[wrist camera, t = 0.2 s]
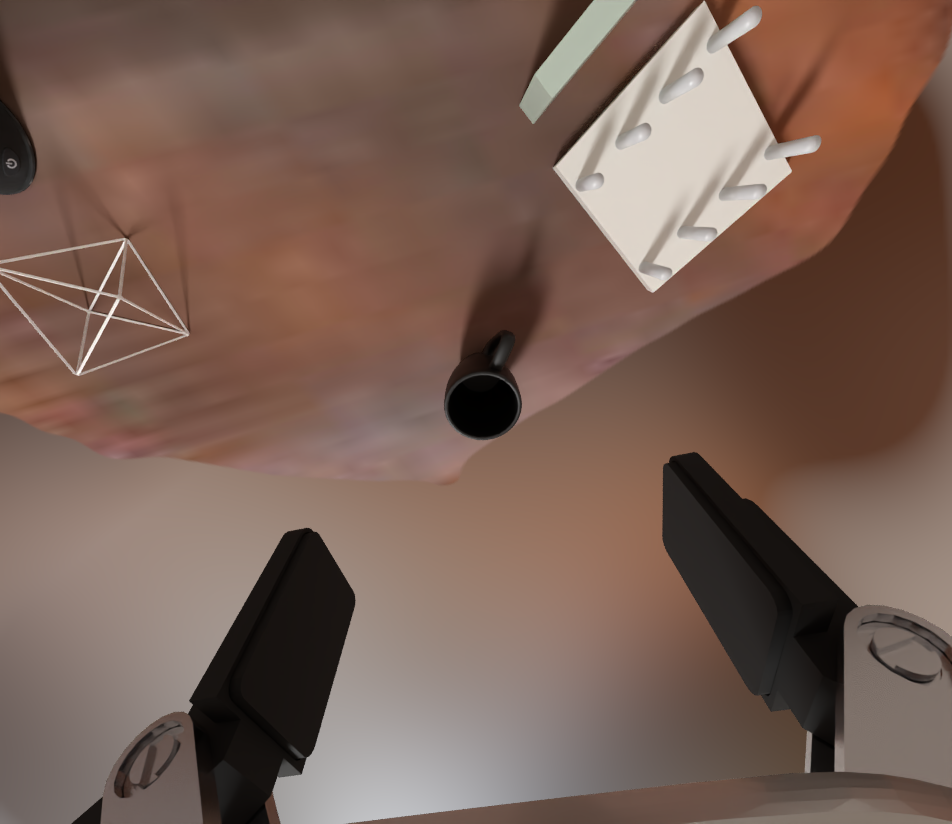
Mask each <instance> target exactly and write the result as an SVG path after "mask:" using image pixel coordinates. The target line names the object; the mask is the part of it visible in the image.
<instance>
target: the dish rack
mask: <svg viewBox="0 0 952 824" xmlns="http://www.w3.org/2000/svg"><path fill="white" fill-rule="evenodd" d="M761 17H762V10H761V8H760V7H759V6H754V7H752V8H750V9H749V10H748V11H746V12H745V13H743V14H742V15H741V16H739V17H738V18H736V19H735V20H734V21H732V22H731V23H730V24H728V25H727V26H725V27H724V28H723V29H721V30H719V28H718V26H717V24H716V22H715V20H714V18H713V16H712V14H711V12H710V10H709V8H708V6H707V4H706V3H705V1H703V2H702V3H701V4H700V5H699V6H698V7H697V8H696V9H694V11H693V12H692V13H691V14H690V15H689V16H688V17H687V18H686V20H685V21H684V22H683V23H682V24H681V25H680V26H679V27H678V28H677V30H676V31H675V32H674V33H673V34H672V35H671V36H670V37H669V39H668V40H667V41H666V42H665V43H664V44H663V45H662V46H661V47H660V49H659V50H658V51H657V52H656V53H655V54H654V55H653V56H652V57H651V59H650V60H649V61H648V62H647V63H646V64H645V65H644V66H643V68H642V69H641V70H640V71H639V72H638V73H637V74H636V75H635V76H634V78H633V79H632V80H631V81H630V82H629V83H628V84H627V85H626V87H625V88H624V89H623V90H622V91H621V92H620V93H619V94H618V95H617V97H616V98H615V99H614V100H613V101H612V102H611V103H610V104H609V106H608V107H607V108H606V109H605V110H604V111H603V112H602V113H601V114H600V116H599V117H598V118H597V119H596V120H595V121H594V122H593V123H592V125H591V126H590V127H589V128H588V129H587V130H586V131H585V132H584V133H583V135H582V136H581V137H580V138H579V139H578V140H577V141H576V142H575V143H574V145H573V146H572V147H571V148H570V149H569V150H568V151H567V152H566V154H565V155H564V156H563V157H562V158H561V159H560V160H559V161H558V162H557V164H556V165H555V166H554V167H553V169H554V171H555V172H556V173H557V174H558V176H559V177H560V178H561V180H562V181H563V182H564V183H565V185H566V186H567V187H568V189H569V190H570V191H571V192H572V194H573V195H574V196H575V198H576V199H577V200H578V201H579V203H580V204H581V205H582V207H583V208H584V209H585V210H586V212H587V213H588V214H589V216H590V217H591V218H592V219H593V221H594V222H595V223H596V225H597V226H598V227H599V228H600V230H601V231H602V232H603V234H604V235H605V236H606V237H607V239H608V240H609V241H610V243H611V244H612V245H613V247H614V248H615V249H616V250H617V252H618V253H619V254H620V256H621V257H622V258H623V259H624V261H625V262H626V263H627V265H628V266H629V267H630V268H631V270H632V271H633V272H634V274H635V275H636V276H637V277H638V279H639V280H640V281H641V283H642V284H643V285H644V286H645V288H646V289H647V290H648V291H650V292H653V293H654V292H655V291H656V290H657V289H658V288H659V287H660V286H662V285H663V284H664V283H665V282H666V281H667V280H668V279H670V278H671V277H672V276H673V275H674V274H675V273H676V272H678V271H679V270H680V269H681V268H682V267H683V266H684V265H686V264H687V263H688V262H689V261H690V260H691V259H692V258H694V257H695V256H696V255H697V254H698V253H699V252H700V251H702V250H703V249H704V248H705V247H706V246H707V245H708V244H710V243H711V242H712V241H713V240H714V239H715V238H716V237H718V236H719V235H720V234H721V233H722V232H723V231H724V230H726V229H727V228H728V227H729V226H730V225H731V224H733V223H734V222H735V221H736V220H737V219H738V218H739V217H741V216H742V215H743V214H744V213H745V212H746V211H747V210H749V209H750V208H751V207H752V206H753V205H754V204H755V203H757V202H758V201H759V200H760V199H761V198H762V197H763V196H765V195H766V194H767V193H768V192H769V191H770V190H771V189H773V188H774V187H775V186H776V185H777V184H778V183H779V182H781V181H782V180H783V179H784V178H785V177H786V176H787V175H789V174H790V173H791V172H792V170H791V168H790V167H789V165H788V163H787V161H786V159H785V157H790V156H795V155H801V154H807V153H812V152H815V151H816V150H817V149H818V148H819V146H820V144H821V138H820V136H818V135H815V136H811V137H806V138H802V139H797V140H793V141H788V142H784V143H779V144H778V143H777V141H776V139H775V137H774V135H773V133H772V131H771V129H770V127H769V126H768V124H767V122H766V120H765V118H764V116H763V114H762V112H761V110H760V108H759V106H758V104H757V102H756V100H755V98H754V96H753V94H752V92H751V90H750V88H749V86H748V85H747V83H746V81H745V79H744V77H743V75H742V73H741V71H740V69H739V67H738V65H737V63H736V61H735V59H734V57H733V55H732V53H731V51H730V49H729V47H728V44H729V43H731V42H732V41H734V40H735V39H737V38H738V37H740V36H742V35H743V34H745V33H746V32H748V31H749V30H751V29H752V28H754V27H755V26H757V25H758V23H759V22H760V20H761Z"/></svg>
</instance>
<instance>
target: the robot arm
mask: <svg viewBox="0 0 952 824" xmlns="http://www.w3.org/2000/svg"><path fill="white" fill-rule="evenodd" d="M662 536H663V543H664V546H665V549H666V551H667V552H668V554H669V556H670V558H671V559H672V561H673V563H674V565H675V566H676V568H677V570H678V571H679V573H680V575H681V576H682V578H683V580H684V581H685V583H686V585H687V586H688V588H689V590H690V591H691V593H692V595H693V597H694V598H695V600H696V602H697V603H698V605H699V607H700V608H701V610H702V612H703V613H704V615H705V617H706V619H707V620H708V622H709V624H710V625H711V627H712V629H713V630H714V632H715V634H716V635H717V637H718V639H719V640H720V642H721V644H722V646H723V647H724V649H725V651H726V652H727V654H728V656H729V657H730V659H731V661H732V662H733V664H734V666H735V667H736V669H737V671H738V673H739V674H740V676H741V677H742V679H743V681H744V683H745V684H746V686H747V687H748V689H749V690H750V691H751V692H752V693H753V694H754V695H761V696H762V698H763V699H764V701H765V703H766V704H767V706H768V707H769V709H770V711H771V712H772V711H779V710H787V709H791V711H792V712H793V714H794V715H795V717H796V718H797V720H798V722H799V723H800V725H801V726H802V728H804V729H805V730H807V744H806V761H805V773H789V774H778V775H768V776H757V777H746V778H736V779H725V780H714V781H704V782H694V783H685V784H676V785H667V786H658V787H650V788H641V789H632V790H623V791H615V792H606V793H598V794H588V795H580V796H571V797H563V798H554V799H546V800H537V801H529V802H520V803H512V804H504V805H496V806H488V807H479V808H470V809H462V810H454V811H446V812H437V813H429V814H421V815H413V816H405V817H396V818H389V819H380V820H372V821H364V822H356V823H349V824H952V637H951V636H950V635H949V634H948V633H946V632H945V631H944V630H942V629H941V628H939V627H937V626H935V625H933V624H932V623H930V622H929V621H927V620H925V619H923V618H921V617H918V616H916V615H914V614H911V613H909V612H906V611H904V610H900V609H896V608H892V607H888V606H880V605H865V606H861V607H858V606H857V605H856V604H855V603H854V602H853V601H852V600H851V599H850V598H849V597H848V596H847V595H846V594H845V593H844V592H843V591H842V590H841V589H840V588H839V587H838V586H837V585H836V584H835V583H834V582H833V581H832V580H831V579H830V578H829V577H828V576H827V575H826V574H825V573H824V572H823V571H822V570H821V569H820V568H819V567H818V566H817V565H816V564H815V563H814V562H813V561H812V560H811V559H810V558H809V557H808V556H807V555H806V554H805V553H804V552H803V551H802V550H801V549H800V548H799V547H798V546H797V545H796V544H795V543H794V542H793V541H792V540H791V539H790V538H789V537H788V536H787V535H786V534H785V533H784V532H783V531H782V530H781V529H780V528H779V527H778V526H777V525H776V524H775V523H774V522H773V521H772V520H771V519H770V518H769V517H768V516H767V515H766V514H765V513H764V512H763V511H762V510H761V509H760V508H759V507H758V506H757V505H756V504H755V503H754V502H752V501H751V500H748V499H742V498H741V497H740V496H739V495H738V494H737V493H736V492H735V491H734V490H733V489H732V488H731V487H730V486H729V485H728V484H727V483H726V482H725V481H724V480H723V479H722V478H721V476H720V475H719V474H718V473H717V472H716V471H715V470H714V469H713V468H712V467H711V466H710V465H709V464H708V463H707V462H706V461H705V460H704V459H703V458H702V457H701V456H700V455H699V454H698V453H695V452H693V453H688V454H682V455H677V456H672V457H671V458H670V460H669V463H666V464H664V466H663V535H662ZM354 607H355V594H354V592H353V590H352V588H351V587H350V585H349V583H348V582H347V580H346V578H345V577H344V575H343V573H342V572H341V570H340V568H339V567H338V565H337V564H336V562H335V560H334V558H333V557H332V555H331V553H330V552H329V550H328V548H327V547H326V545H325V543H324V542H323V540H322V538H321V537H320V535H319V534H318V533H317V532H313V531H312V529H310V528H304V529H299V530H294V531H288V532H287V533H285V534H284V535H283V537H282V539H281V540H280V543H279V544H278V546H277V548H276V549H275V551H274V553H273V555H272V556H271V558H270V560H269V561H268V563H267V565H266V567H265V568H264V570H263V572H262V574H261V576H260V577H259V579H258V581H257V583H256V584H255V586H254V588H253V590H252V591H251V593H250V595H249V597H248V598H247V600H246V602H245V604H244V606H243V607H242V609H241V611H240V612H239V614H238V616H237V618H236V620H235V621H234V623H233V625H232V627H231V628H230V630H229V632H228V634H227V635H226V637H225V639H224V641H223V642H222V644H221V646H220V648H219V649H218V651H217V653H216V655H215V656H214V658H213V660H212V662H211V663H210V665H209V667H208V669H207V671H206V672H205V674H204V676H203V677H202V679H201V681H200V683H199V684H198V686H197V688H196V690H195V691H194V693H193V695H192V697H191V699H190V700H189V701H190V702H191V703H192V704H193V706H192V708H191V709H190V711H189V713H188V714H187V713H185V712H173V713H171V714H168V715H165V716H163V717H161V718H160V719H158V720H156V721H155V722H153V723H152V724H150V725H149V726H148V727H147V728H146V729H145V730H143V731H142V732H141V733H140V734H139V735H138V736H137V737H136V738H135V739H134V740H133V741H132V742H131V743H130V744H129V746H128V747H127V748H126V749H125V750H124V751H123V753H122V754H121V756H120V757H119V759H118V760H117V762H116V763H115V765H114V766H113V768H112V771H111V772H110V775H109V777H108V779H107V781H106V785H105V789H104V793H103V797H102V798H101V799H100V800H98V801H97V802H96V803H95V804H94V805H93V806H91V807H90V808H89V809H88V810H87V811H86V812H84V813H83V814H82V815H81V816H80V817H79V818H77V819H76V820H75V821H74V822H73V823H72V824H281V823H280V819H279V816H278V812H277V808H276V804H275V800H274V796H273V792H272V791H273V788H274V785H275V782H276V779H277V776H278V777H285V776H294V775H301V774H302V771H303V768H304V765H305V761H306V758H307V757H309V756H310V755H311V754H312V751H313V750H314V747H315V744H316V741H317V737H318V733H319V730H320V727H321V723H322V719H323V716H324V712H325V709H326V706H327V702H328V699H329V695H330V691H331V688H332V684H333V681H334V678H335V674H336V671H337V667H338V664H339V660H340V656H341V653H342V649H343V646H344V642H345V639H346V635H347V632H348V628H349V625H350V621H351V617H352V614H353V611H354Z"/></svg>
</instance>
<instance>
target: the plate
mask: <svg viewBox="0 0 952 824" xmlns="http://www.w3.org/2000/svg"><path fill="white" fill-rule="evenodd" d="M636 1H637V0H594V1H593V2H592V3H591V4H590V6H589V7H588V8H587V9H586V11H585V12H584V13H583V14H582V16H581V17H580V18H579V19H578V21H577V22H576V23H575V24H574V26H573V27H572V28H571V29H570V31H569V32H568V33H567V34H566V36H565V37H564V38H563V39H562V41H561V42H560V43H559V44H558V46H557V47H556V48H555V49H554V51H553V52H552V53H551V54H550V56H549V57H548V58H547V59H546V61H545V62H544V63H543V64H542V66H541V67H540V68H539V69H538V71H537V72H536V73H535V74H534V76H533V79H532V81H531V83H530V85H529V87H528V89H527V91H526V93H525V95H524V97H523V99H522V101H521V103H520V105H519V106H520V107H521V109H522V110H523V111H524V113H525V114H526V115H527V117H528V118H529V119H530V120H531V122H532V123H533V124H534V123H535V122H536V121H537V119H538V118H539V117H540V116H541V115H542V113H543V112H544V111H545V110H546V109H547V107H548V106H549V105H550V104H551V103H552V101H553V100H554V99H555V98H556V97H557V96H558V94H559V93H560V92H561V91H562V90H563V88H564V87H565V86H566V85H567V84H568V82H569V81H570V80H571V79H572V78H573V76H574V75H575V74H576V73H577V72H578V70H579V69H580V68H581V67H582V66H583V64H584V63H585V62H586V61H587V60H588V59H589V57H590V56H591V55H592V54H593V53H594V51H595V50H596V49H597V48H598V47H599V45H600V44H601V43H602V42H603V41H604V39H605V38H606V37H607V36H608V35H609V33H610V32H611V31H612V30H613V29H614V28H615V26H616V25H617V24H618V23H619V22H620V20H621V19H622V18H623V17H624V16H625V14H626V13H627V12H628V11H629V10H630V8H631V7H632V6H633V5H634V4H635V2H636Z"/></svg>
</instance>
